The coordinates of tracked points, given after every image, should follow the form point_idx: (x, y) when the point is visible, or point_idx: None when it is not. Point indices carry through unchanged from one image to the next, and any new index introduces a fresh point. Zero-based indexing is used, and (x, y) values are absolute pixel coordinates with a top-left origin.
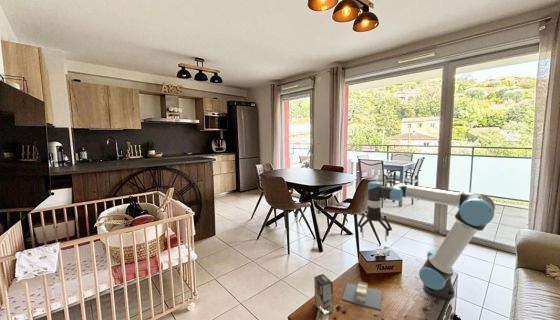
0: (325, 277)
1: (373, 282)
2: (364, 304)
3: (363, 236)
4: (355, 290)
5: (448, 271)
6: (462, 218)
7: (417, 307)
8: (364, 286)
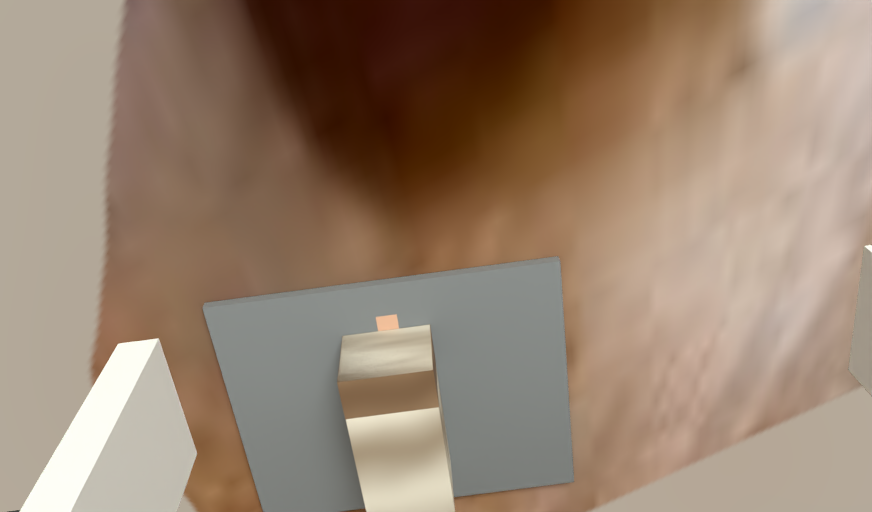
0: None
1: (451, 135)
2: None
3: (172, 421)
4: (323, 375)
5: None
6: None
7: None
8: (415, 428)
